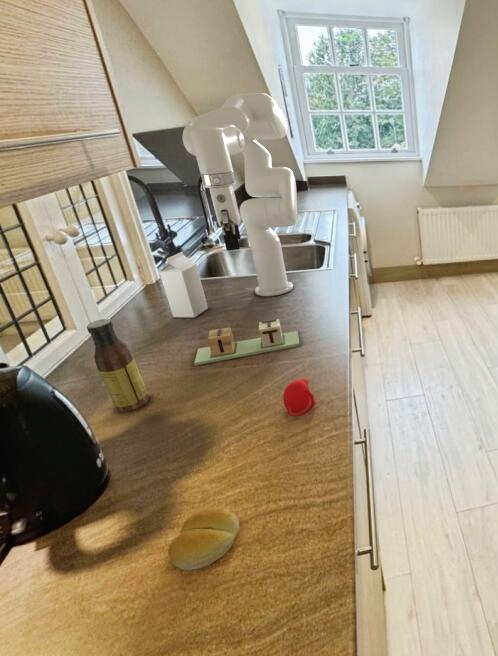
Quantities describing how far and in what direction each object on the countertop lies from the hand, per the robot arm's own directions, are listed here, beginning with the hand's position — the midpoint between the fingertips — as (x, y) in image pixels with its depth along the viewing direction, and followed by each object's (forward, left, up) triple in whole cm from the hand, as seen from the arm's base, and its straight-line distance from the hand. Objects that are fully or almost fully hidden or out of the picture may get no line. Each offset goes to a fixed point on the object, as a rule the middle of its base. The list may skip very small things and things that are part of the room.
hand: (234, 244), depth 122 cm
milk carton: (-19, -19, -25) cm, 36 cm away
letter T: (+14, +5, -24) cm, 28 cm away
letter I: (+14, -7, -24) cm, 28 cm away
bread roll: (+75, -5, -25) cm, 79 cm away
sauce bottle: (+31, -24, -25) cm, 46 cm away
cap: (+47, +10, -25) cm, 54 cm away
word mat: (+14, -1, -25) cm, 28 cm away
